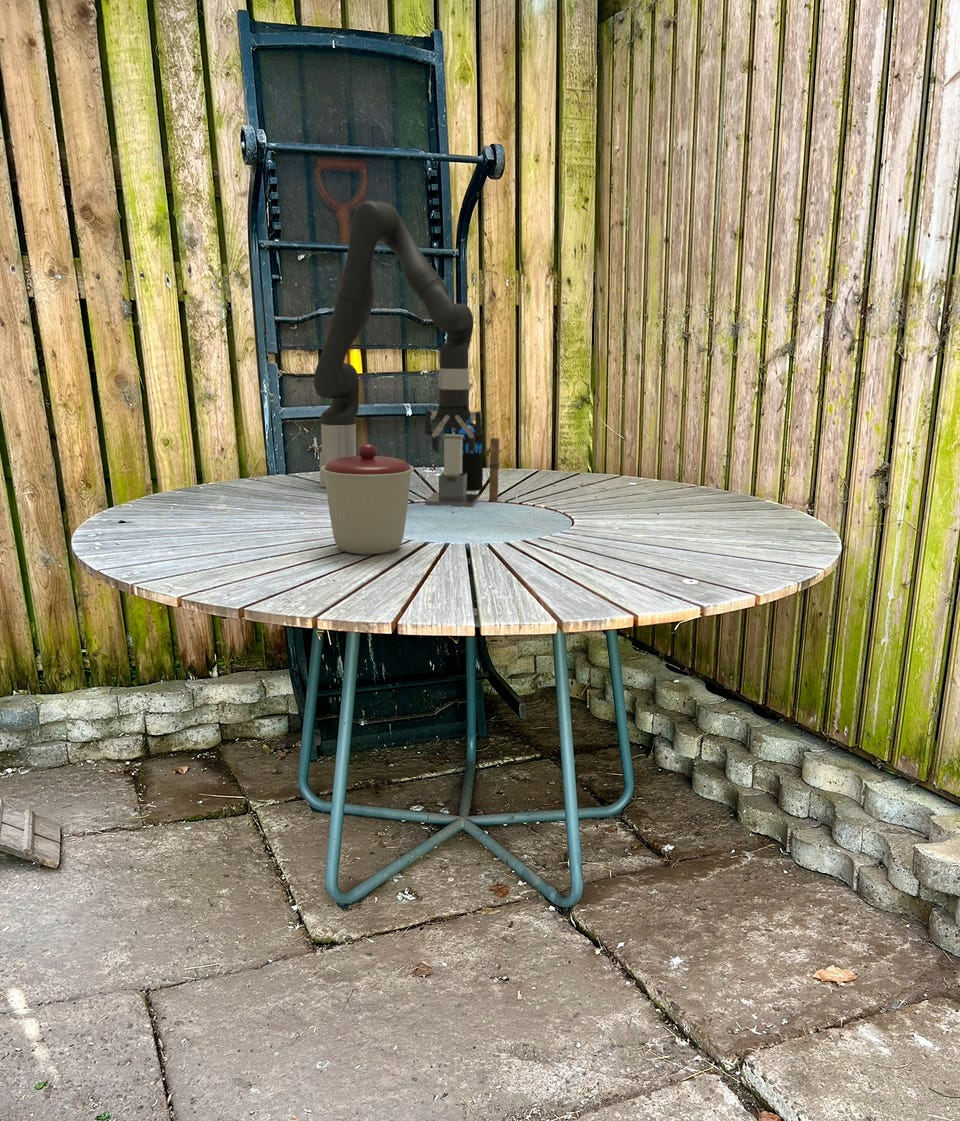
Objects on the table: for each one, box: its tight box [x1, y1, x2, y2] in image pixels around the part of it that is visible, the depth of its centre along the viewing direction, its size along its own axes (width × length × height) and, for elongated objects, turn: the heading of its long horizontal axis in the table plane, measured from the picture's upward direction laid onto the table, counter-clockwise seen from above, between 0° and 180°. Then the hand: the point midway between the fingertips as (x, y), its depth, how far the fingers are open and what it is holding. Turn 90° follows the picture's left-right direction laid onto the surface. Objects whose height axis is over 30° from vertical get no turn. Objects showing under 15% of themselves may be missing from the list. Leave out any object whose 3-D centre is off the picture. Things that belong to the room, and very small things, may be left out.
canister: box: [321, 443, 415, 556], centre depth 176 cm, size 18×18×21 cm
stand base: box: [424, 471, 480, 508], centre depth 228 cm, size 12×12×7 cm
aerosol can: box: [453, 416, 485, 492], centre depth 245 cm, size 8×8×20 cm
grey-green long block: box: [442, 433, 464, 476], centre depth 226 cm, size 5×5×16 cm
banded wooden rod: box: [488, 437, 500, 502], centre depth 229 cm, size 2×2×16 cm
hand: (453, 452), depth 225 cm, fingers open, 8 cm apart
